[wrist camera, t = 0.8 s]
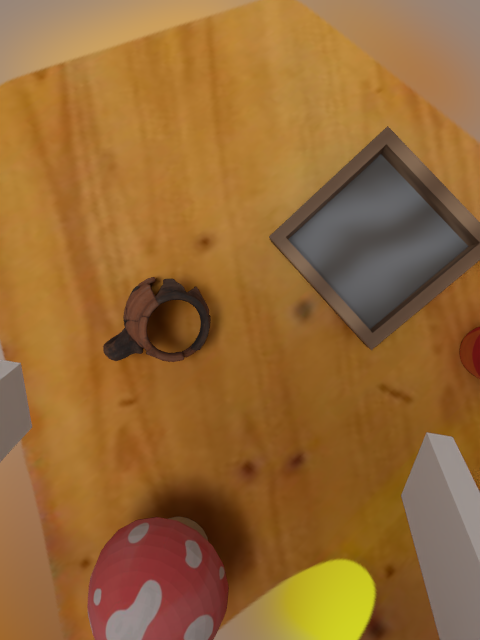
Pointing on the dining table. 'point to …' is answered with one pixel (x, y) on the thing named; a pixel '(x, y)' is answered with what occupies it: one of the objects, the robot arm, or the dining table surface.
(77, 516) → the dining table surface
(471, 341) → the paper cup
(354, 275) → the tray
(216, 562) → the decorative mushroom
